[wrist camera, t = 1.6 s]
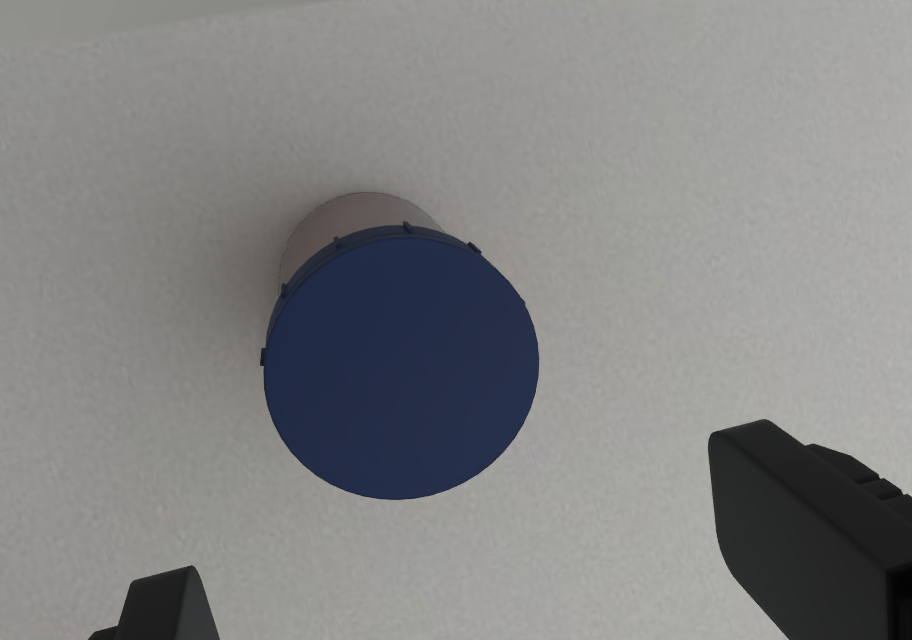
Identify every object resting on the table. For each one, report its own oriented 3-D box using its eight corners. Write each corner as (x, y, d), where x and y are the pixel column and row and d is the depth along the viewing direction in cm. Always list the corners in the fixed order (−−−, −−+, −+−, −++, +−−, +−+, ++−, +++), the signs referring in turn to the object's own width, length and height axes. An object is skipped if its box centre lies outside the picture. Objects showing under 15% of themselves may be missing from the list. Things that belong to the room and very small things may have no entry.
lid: (499, 199, 19) (516, 210, 18) (538, 436, 21) (558, 464, 20) (235, 256, 19) (231, 272, 17) (299, 496, 21) (300, 529, 19)
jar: (438, 175, 26) (501, 219, 19) (469, 341, 28) (539, 446, 20) (259, 212, 26) (247, 274, 18) (302, 380, 27) (308, 505, 20)
